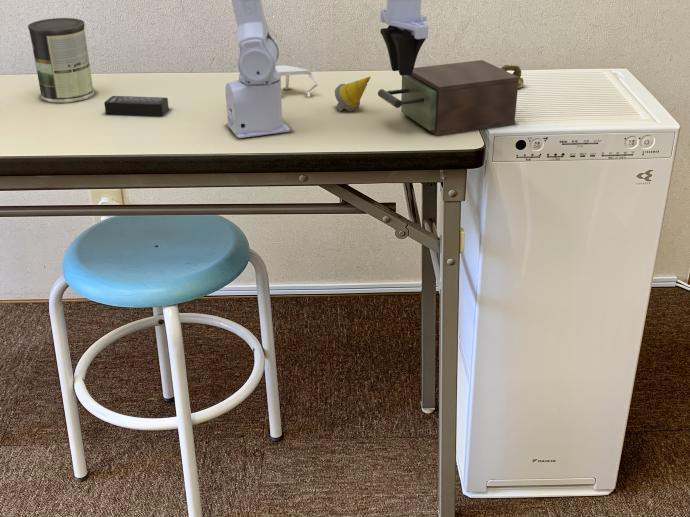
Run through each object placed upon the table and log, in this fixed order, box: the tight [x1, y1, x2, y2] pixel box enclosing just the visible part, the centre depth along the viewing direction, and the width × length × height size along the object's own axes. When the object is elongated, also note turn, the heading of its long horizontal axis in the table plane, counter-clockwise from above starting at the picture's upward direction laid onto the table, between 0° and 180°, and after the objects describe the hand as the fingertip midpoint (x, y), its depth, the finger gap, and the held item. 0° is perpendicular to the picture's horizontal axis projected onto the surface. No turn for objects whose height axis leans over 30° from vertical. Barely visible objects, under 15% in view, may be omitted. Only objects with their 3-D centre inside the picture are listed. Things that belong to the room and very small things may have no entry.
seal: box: [500, 64, 524, 89], centre depth 170 cm, size 9×5×15 cm
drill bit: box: [334, 76, 371, 112], centre depth 155 cm, size 5×5×10 cm
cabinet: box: [410, 59, 519, 137], centre depth 150 cm, size 16×13×9 cm
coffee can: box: [27, 17, 95, 104], centre depth 163 cm, size 10×10×14 cm
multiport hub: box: [103, 95, 170, 117], centre depth 156 cm, size 4×11×2 cm, turn 83°
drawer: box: [377, 75, 437, 132], centre depth 148 cm, size 20×11×7 cm, turn 112°
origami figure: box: [275, 65, 319, 98], centre depth 165 cm, size 12×8×5 cm
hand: (401, 72), depth 143 cm, fingers closed
